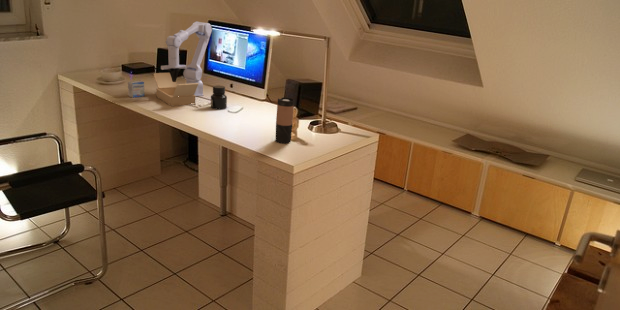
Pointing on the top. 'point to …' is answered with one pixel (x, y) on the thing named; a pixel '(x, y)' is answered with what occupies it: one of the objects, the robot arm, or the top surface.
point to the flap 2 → (185, 89)
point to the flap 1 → (164, 80)
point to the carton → (167, 97)
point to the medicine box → (136, 89)
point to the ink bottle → (218, 97)
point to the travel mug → (284, 120)
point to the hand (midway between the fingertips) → (174, 81)
